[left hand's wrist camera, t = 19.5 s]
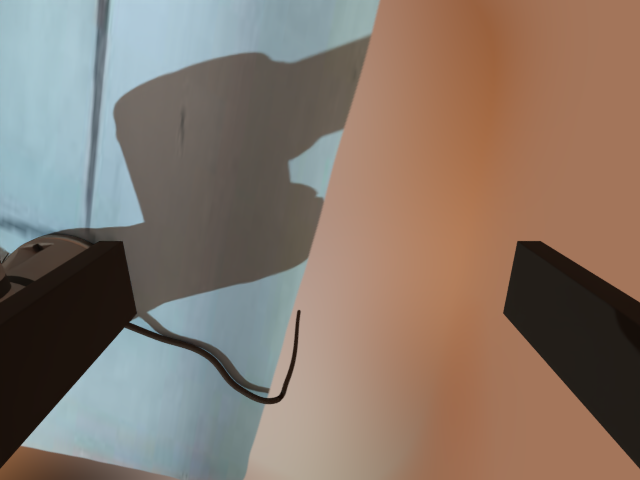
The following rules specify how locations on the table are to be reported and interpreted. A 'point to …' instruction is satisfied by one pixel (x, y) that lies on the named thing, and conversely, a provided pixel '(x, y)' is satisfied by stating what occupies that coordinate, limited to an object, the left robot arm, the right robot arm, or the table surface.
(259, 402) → the left robot arm
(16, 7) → the table surface
